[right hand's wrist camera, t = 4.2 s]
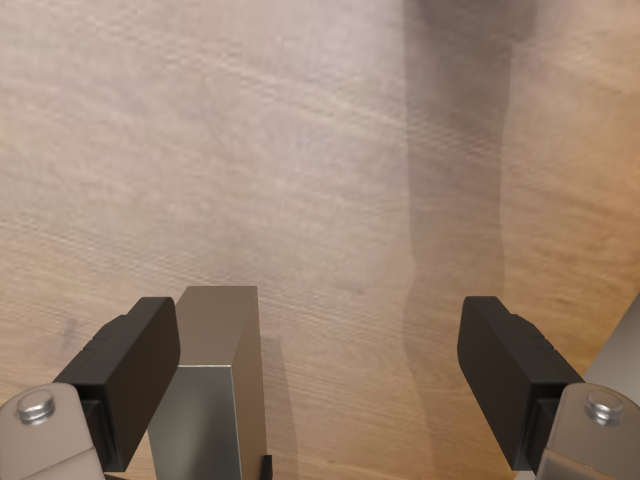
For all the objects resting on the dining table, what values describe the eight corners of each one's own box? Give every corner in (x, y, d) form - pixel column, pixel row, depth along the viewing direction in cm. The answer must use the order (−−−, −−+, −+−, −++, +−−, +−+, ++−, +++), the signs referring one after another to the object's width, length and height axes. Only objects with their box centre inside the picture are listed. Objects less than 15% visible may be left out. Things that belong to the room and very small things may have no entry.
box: (187, 285, 37) (134, 366, 26) (257, 285, 37) (232, 366, 26) (212, 480, 45) (179, 601, 35) (268, 480, 45) (253, 600, 35)
